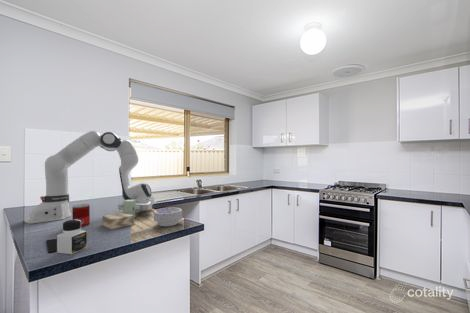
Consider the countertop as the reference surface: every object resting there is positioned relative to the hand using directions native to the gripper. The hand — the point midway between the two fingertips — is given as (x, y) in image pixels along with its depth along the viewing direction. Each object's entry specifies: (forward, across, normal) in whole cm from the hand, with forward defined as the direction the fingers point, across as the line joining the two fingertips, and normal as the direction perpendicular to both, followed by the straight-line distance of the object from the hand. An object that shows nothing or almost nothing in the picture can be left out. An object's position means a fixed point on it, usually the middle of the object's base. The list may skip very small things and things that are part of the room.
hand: (128, 208), depth 144 cm
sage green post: (-1, 0, +6) cm, 6 cm away
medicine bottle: (+49, +3, +6) cm, 49 cm away
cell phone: (+43, -7, +7) cm, 44 cm away
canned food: (+14, -20, +6) cm, 25 cm away
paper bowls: (+10, +28, +6) cm, 31 cm away
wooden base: (+12, +1, +6) cm, 14 cm away
